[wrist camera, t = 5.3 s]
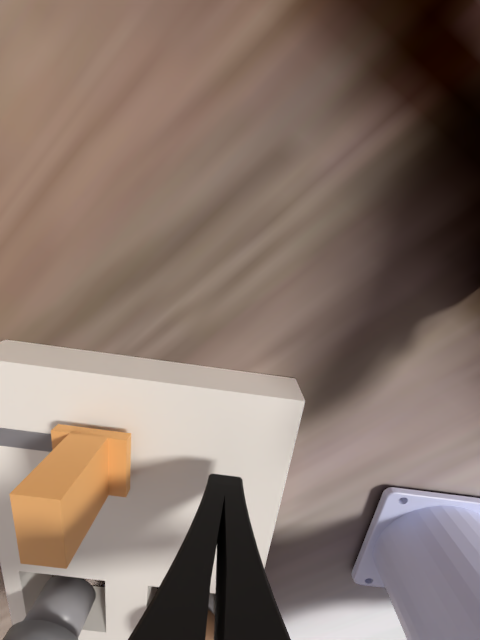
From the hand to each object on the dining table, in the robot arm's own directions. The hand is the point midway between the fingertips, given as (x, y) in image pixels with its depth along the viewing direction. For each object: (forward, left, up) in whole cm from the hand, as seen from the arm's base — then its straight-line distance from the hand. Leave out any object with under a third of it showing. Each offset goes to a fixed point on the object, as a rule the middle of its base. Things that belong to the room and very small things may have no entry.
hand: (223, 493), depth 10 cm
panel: (+4, +6, -3) cm, 8 cm away
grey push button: (+9, +12, -2) cm, 15 cm away
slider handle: (+6, 0, -1) cm, 6 cm away
